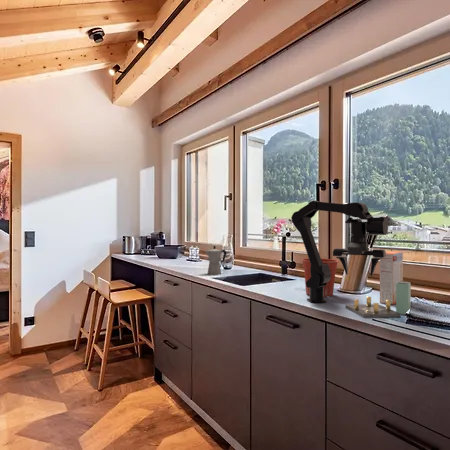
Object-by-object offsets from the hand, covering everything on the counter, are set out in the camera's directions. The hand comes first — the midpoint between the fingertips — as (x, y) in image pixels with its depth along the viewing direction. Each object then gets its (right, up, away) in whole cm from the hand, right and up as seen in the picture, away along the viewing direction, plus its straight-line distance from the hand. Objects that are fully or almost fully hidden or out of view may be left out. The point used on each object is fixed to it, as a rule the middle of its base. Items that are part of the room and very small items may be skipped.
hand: (359, 275), depth 143 cm
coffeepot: (-58, -13, +98) cm, 114 cm away
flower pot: (-8, -13, +27) cm, 31 cm away
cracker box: (+18, -13, +13) cm, 26 cm away
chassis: (+2, -13, -7) cm, 15 cm away
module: (+14, -13, -7) cm, 20 cm away
